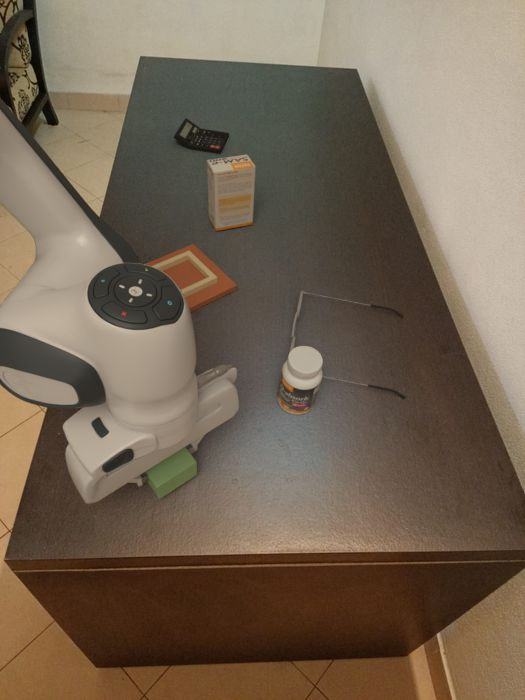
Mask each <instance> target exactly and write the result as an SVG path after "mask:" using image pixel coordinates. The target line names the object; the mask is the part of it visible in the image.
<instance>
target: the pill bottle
mask: <svg viewBox="0 0 525 700" xmlns="http://www.w3.org/2000/svg"><path fill="white" fill-rule="evenodd" d="M289 352H290V351H289ZM323 363H324V360H323V356H322V355H321V353H320V352H319V351H318V350H317V349H316V348H314V347H312V346H309V345H298V346H296V347H294V349H292V350H291V352H290V353H289V354H288V356H287V360H286V361H285V362H284V363H283V365H282V368H281V374H280V379H279V384H278V389H277V395H276V396H277V397H276V399H277V402H278V405H279V407H281V409H282V410H284V412H286V413H288V414H291V415H295V416H298V415H304V414H307V413H308V412H310V411H311V410H312V409H313V408H314V405H315V403H316V399H317V396H318V393H319V390H320V386H321V383H322V380H323V377H322V376H323V370H322V368H323Z"/></svg>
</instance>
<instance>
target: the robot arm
mask: <svg viewBox="0 0 525 700" xmlns="http://www.w3.org/2000/svg"><path fill="white" fill-rule="evenodd" d="M0 205H1V206H2V207H3V208H4V209H5V211H7V212H8V213H9V214H10V215H11V216H12V217H13V218H14V219H15V220H16V221H17V222H18V223H19V224H20V225H21V227H23V228H24V229H25V230H26V231H27V232H28V233H29V235H30V236H31V237H32V238H33V241H34V245H35V246H34V247H35V256H34V261H33V262H32V264H31V265H30V266H29V268H28V269H27V270H26V271H25V273H24V275H23V276H22V277H21V278H20V280H19V281H18V282H17V284H16V285H15V287H13V290H11V291H10V292H9V293H8V294H7V296H6V297H5V298H4V300H2V302H1V304H0V386H1V387H2V388H3V389H5V390H6V391H7V392H8V393H9V394H11V395H12V396H14V397H15V398H17V399H19V400H20V401H23V402H24V403H28V404H32V405H35V406H39V407H42V408H49V409H55V410H71V409H80V410H78V411H76V412H75V413H74V414H73V415H71V416H70V417H69V418H67V420H65V421H64V423H63V424H62V430H63V433H64V435H65V438H66V440H67V442H68V444H67V446H66V448H65V452H64V453H65V454H64V455H65V462H66V467H67V470H68V474H69V476H70V478H71V481H72V482H73V484H74V486H75V488H76V490H77V492H78V493H79V495H80V497H81V499H82V500H83V502H84V503H85V504H87V505H88V504H89V505H90V504H96V503H98V502H100V501H101V500H103V499H104V498H106V497H107V496H109V495H110V494H112V493H114V492H115V491H117V490H118V489H120V488H122V487H123V486H125V485H127V484H128V483H131V484H132V483H133V484H136V486H137V487H138V488H141V486H143V485H145V484H146V483H148V481H149V478H148V475H147V473H146V471H147V470H149V469H150V468H152V467H154V466H155V465H157V464H158V463H160V462H162V461H163V460H165V459H166V458H168V457H170V456H171V455H173V454H174V453H176V452H178V451H179V450H181V449H182V448H184V447H186V448H187V450H188V451H189V452H190V454H191V455H192V454H193V453H195V452H196V451H198V449H199V448H198V445H199V444H200V442H201V441H202V439H203V438H204V437H205V435H206V434H208V433H210V432H211V431H212V430H214V429H216V428H218V427H219V426H221V425H223V424H224V423H225V422H227V421H229V420H230V419H232V418H233V417H234V416H235V415H236V414H237V412H238V411H239V409H240V399H239V398H240V397H239V394H238V389H237V386H236V385H235V382H236V381H237V377H238V375H237V373H238V369H237V367H236V366H235V364H232V363H231V364H225V363H222V364H219V365H217V366H215V367H213V368H210V369H208V370H205V371H204V372H201V373H200V374H198V375H197V374H196V372H195V370H196V366H197V346H196V335H195V328H194V323H193V318H192V312H191V313H190V309H189V306H188V303H187V301H186V299H185V297H184V295H183V293H182V291H181V290H180V288H179V287H178V285H177V284H176V283H175V282H174V281H173V280H172V279H171V278H170V277H169V276H168V275H167V274H165V273H164V272H162V271H161V270H159V269H157V268H154V267H152V266H149V265H145V264H146V263H141V260H140V259H139V257H138V255H137V253H136V251H135V250H134V249H133V247H132V246H131V245H130V243H129V242H128V241H127V240H126V239H125V238H124V237H123V236H122V235H121V234H119V233H118V232H117V231H116V230H115V229H114V228H112V227H111V226H110V225H109V224H107V222H106V221H104V219H102V218H101V217H100V216H99V215H98V214H97V213H96V211H94V210H93V208H92V207H91V206H90V205H89V204H88V203H87V201H86V200H85V198H83V196H82V195H81V194H80V193H79V191H78V190H77V189H76V188H75V187H74V185H73V184H72V183H71V182H70V180H69V179H68V178H67V176H65V174H64V173H63V172H62V171H61V169H60V168H59V167H58V166H57V164H56V163H55V161H53V160H52V158H51V157H50V156H49V154H48V153H47V152H46V151H45V149H43V147H42V146H41V144H40V143H39V142H38V141H37V139H36V138H35V137H34V136H33V135H32V133H30V131H29V130H28V129H27V127H26V126H25V125H24V123H22V122H21V120H20V119H19V118H18V117H17V115H16V114H15V113H14V111H12V109H11V108H10V107H9V106H8V105H7V104H6V102H5V101H3V99H2V98H1V97H0Z"/></svg>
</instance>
